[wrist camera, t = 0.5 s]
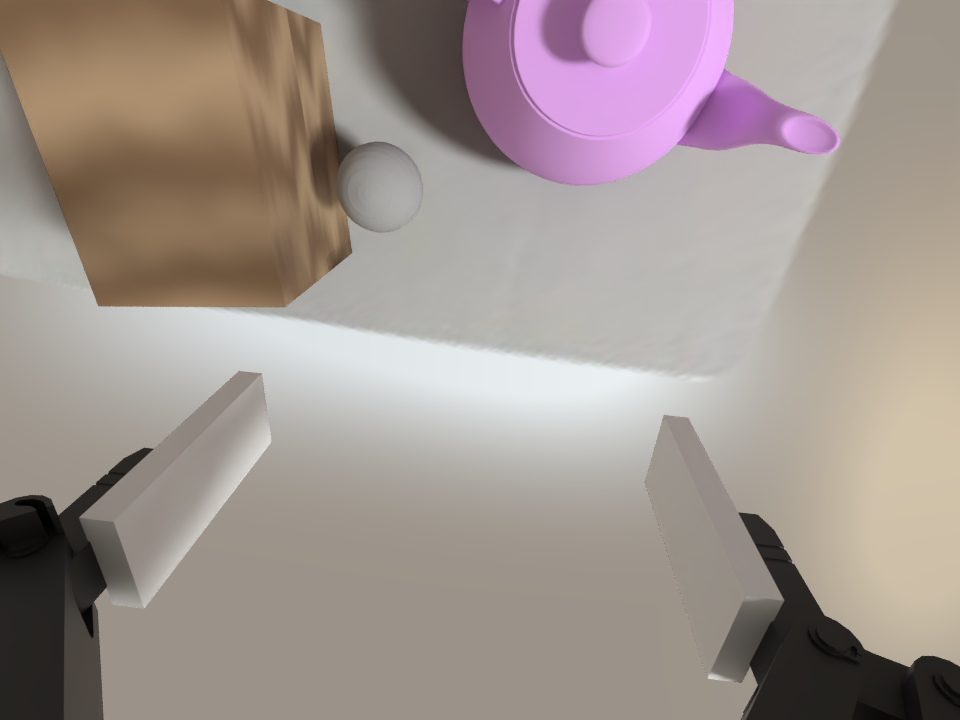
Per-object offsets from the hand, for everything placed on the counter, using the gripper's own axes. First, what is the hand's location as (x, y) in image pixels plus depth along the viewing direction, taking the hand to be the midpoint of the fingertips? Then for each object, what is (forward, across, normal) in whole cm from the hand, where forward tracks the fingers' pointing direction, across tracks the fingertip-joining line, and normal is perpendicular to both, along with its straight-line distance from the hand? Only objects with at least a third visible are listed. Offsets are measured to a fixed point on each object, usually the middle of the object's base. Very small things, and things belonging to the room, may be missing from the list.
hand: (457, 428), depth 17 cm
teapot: (+27, +6, +13) cm, 30 cm away
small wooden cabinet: (+27, -19, +5) cm, 33 cm away
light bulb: (+27, -8, +4) cm, 28 cm away
